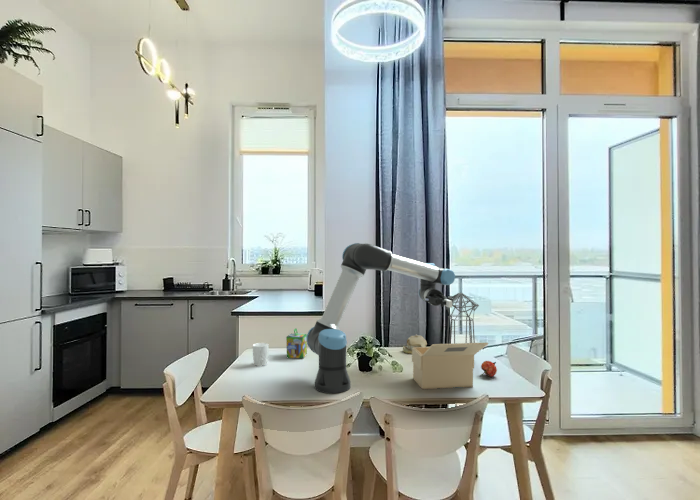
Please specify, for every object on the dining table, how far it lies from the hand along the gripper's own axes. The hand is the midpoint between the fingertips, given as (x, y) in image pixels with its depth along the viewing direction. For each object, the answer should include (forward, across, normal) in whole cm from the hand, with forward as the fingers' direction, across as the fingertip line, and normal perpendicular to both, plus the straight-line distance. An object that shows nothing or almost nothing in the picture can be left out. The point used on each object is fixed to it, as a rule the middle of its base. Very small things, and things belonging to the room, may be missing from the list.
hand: (450, 304), depth 175 cm
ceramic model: (-56, 0, -36) cm, 67 cm away
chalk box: (-53, +66, -35) cm, 92 cm away
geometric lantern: (-39, -19, -36) cm, 56 cm away
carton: (-5, +2, -35) cm, 35 cm away
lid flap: (+9, +2, -17) cm, 19 cm away
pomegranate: (-11, -22, -35) cm, 43 cm away
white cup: (-40, +84, -35) cm, 99 cm away
